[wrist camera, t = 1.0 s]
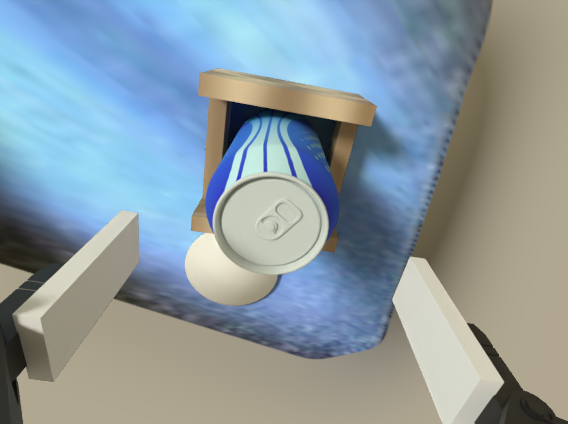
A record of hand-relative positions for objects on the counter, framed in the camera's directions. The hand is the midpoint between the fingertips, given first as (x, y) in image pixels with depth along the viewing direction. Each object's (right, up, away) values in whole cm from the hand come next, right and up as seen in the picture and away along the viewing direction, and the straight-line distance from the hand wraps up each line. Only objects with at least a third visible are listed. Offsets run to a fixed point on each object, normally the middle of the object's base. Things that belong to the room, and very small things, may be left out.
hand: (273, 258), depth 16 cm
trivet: (-6, -4, +23) cm, 24 cm away
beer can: (0, +9, +17) cm, 19 cm away
